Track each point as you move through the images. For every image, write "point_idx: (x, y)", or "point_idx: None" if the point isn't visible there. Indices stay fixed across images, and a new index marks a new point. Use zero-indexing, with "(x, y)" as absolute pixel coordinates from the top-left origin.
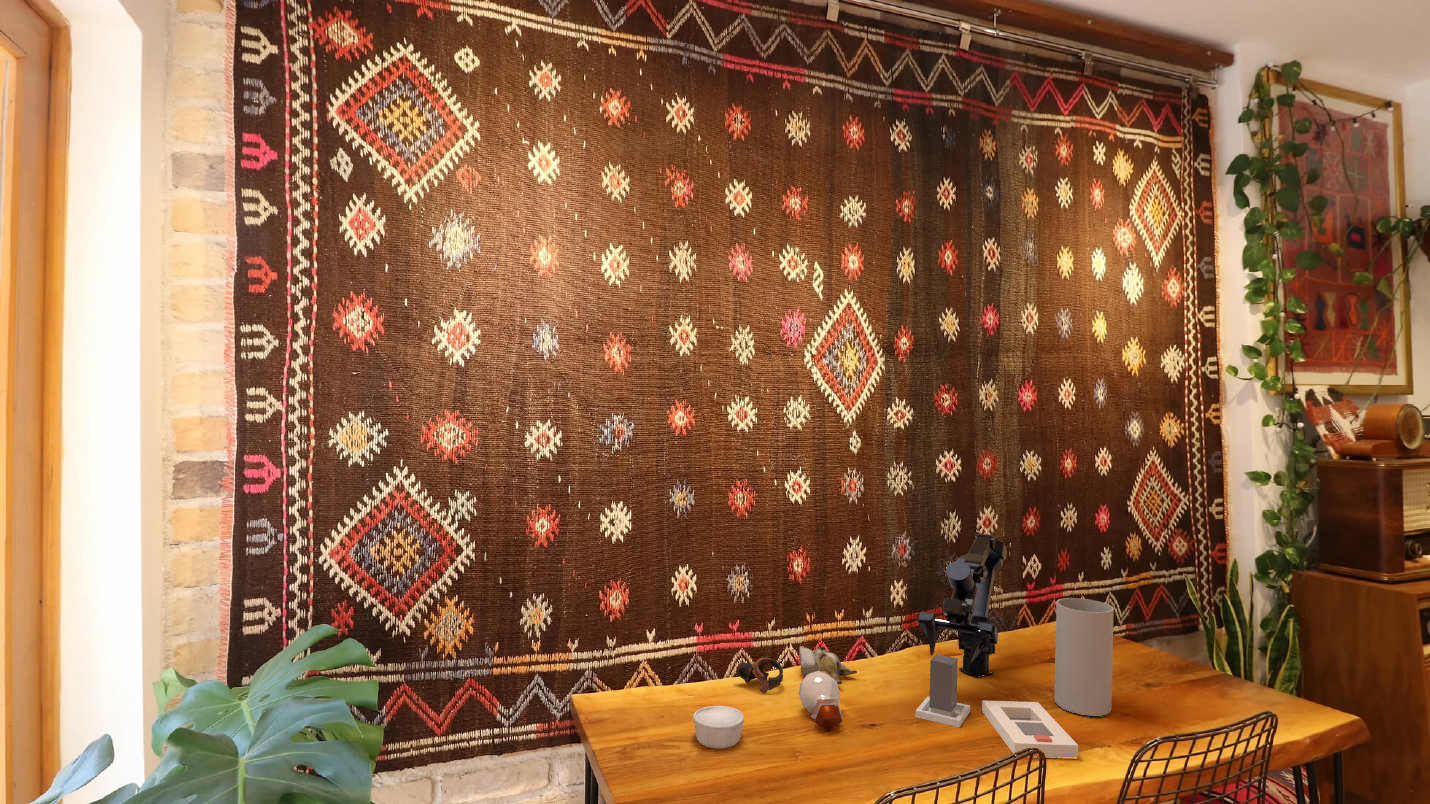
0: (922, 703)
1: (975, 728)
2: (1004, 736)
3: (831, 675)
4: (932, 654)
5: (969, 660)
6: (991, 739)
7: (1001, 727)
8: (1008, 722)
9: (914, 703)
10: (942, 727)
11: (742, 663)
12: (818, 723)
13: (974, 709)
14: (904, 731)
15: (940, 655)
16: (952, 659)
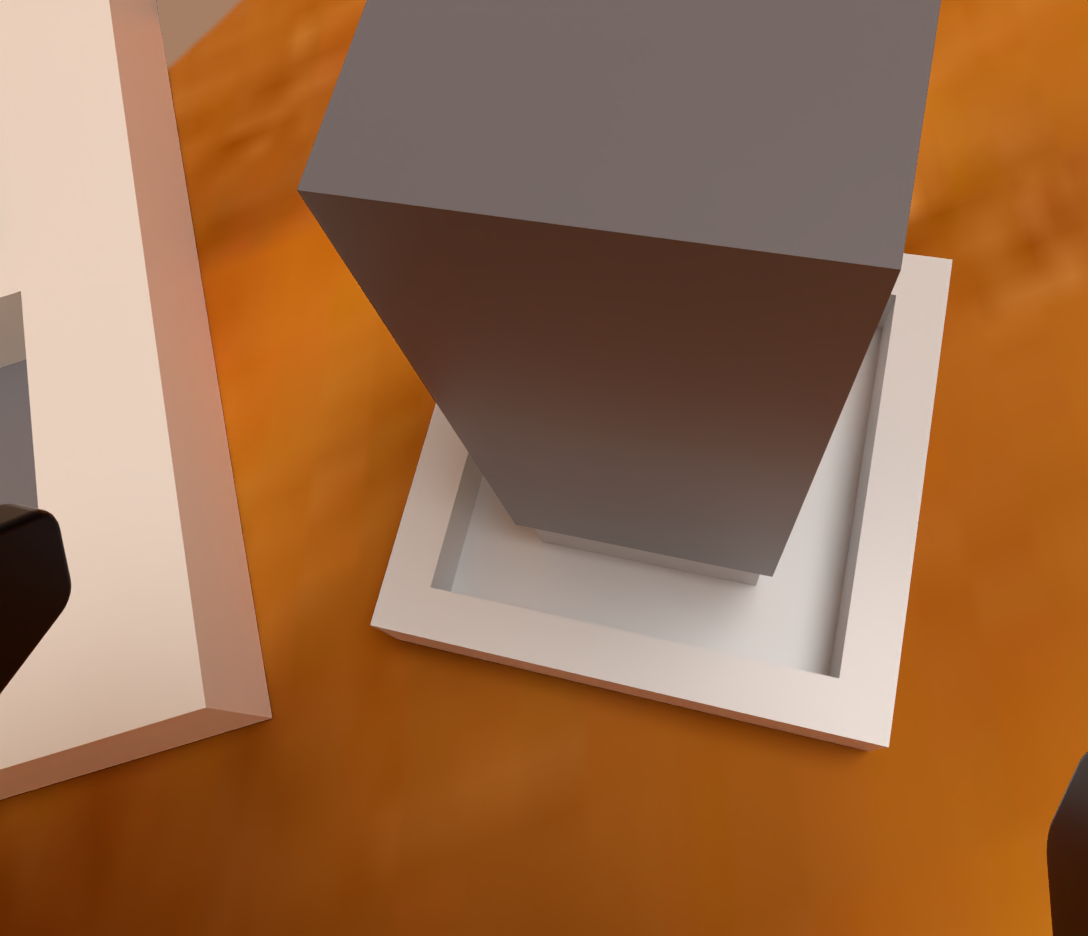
0: (915, 474)
1: (372, 329)
2: (152, 119)
3: None
4: (1059, 827)
5: (33, 508)
6: (267, 183)
7: (138, 154)
8: (52, 226)
9: (1029, 722)
10: None
11: None
12: None
13: (341, 793)
14: (972, 35)
15: (762, 218)
16: (431, 65)
